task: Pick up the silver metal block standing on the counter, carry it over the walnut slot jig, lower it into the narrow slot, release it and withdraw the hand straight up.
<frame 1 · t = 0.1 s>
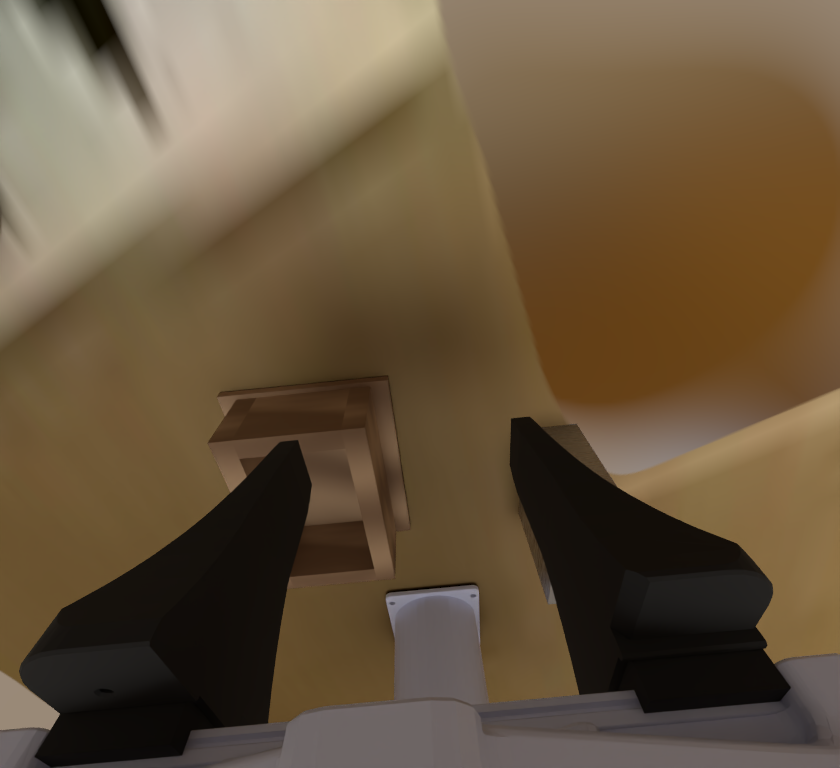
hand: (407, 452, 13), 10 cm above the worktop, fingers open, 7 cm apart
well: (326, 466, 27), on the worktop
silver metal block: (545, 471, 28), on the worktop
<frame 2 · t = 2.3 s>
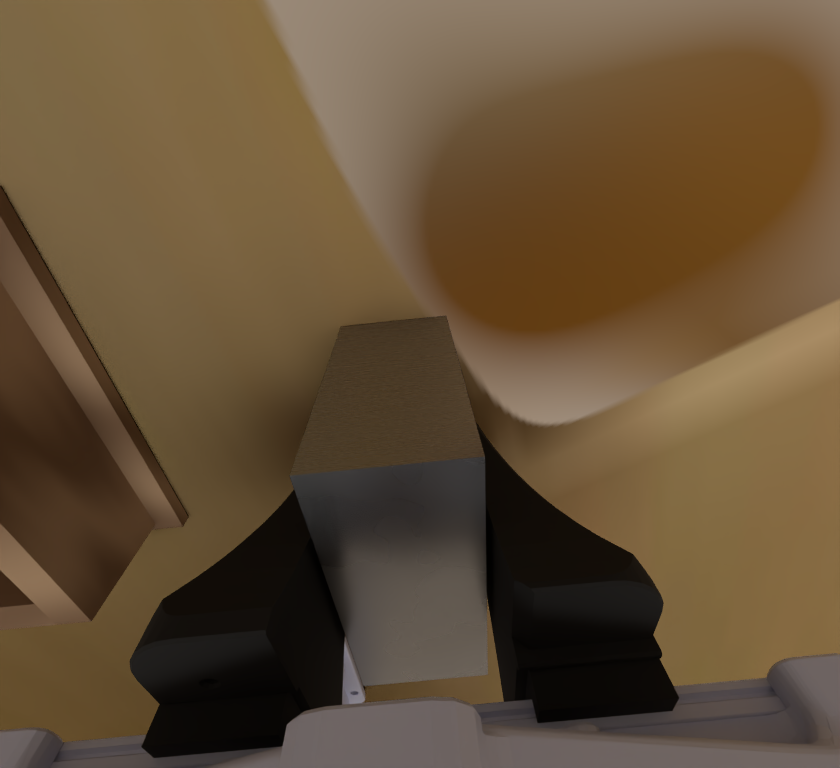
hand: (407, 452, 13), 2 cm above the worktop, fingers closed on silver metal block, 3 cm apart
silver metal block: (406, 419, 15), on the worktop, touching gripper
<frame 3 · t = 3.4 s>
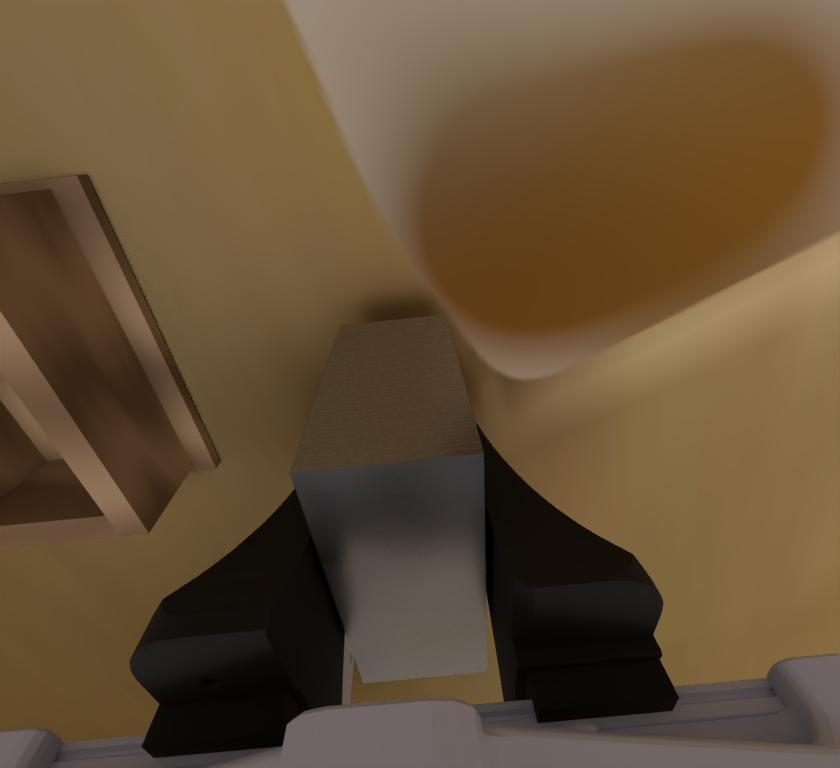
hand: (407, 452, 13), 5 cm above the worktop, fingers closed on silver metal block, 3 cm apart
well: (51, 358, 17), on the worktop
silver metal block: (406, 417, 15), point 3 cm above the worktop, touching gripper
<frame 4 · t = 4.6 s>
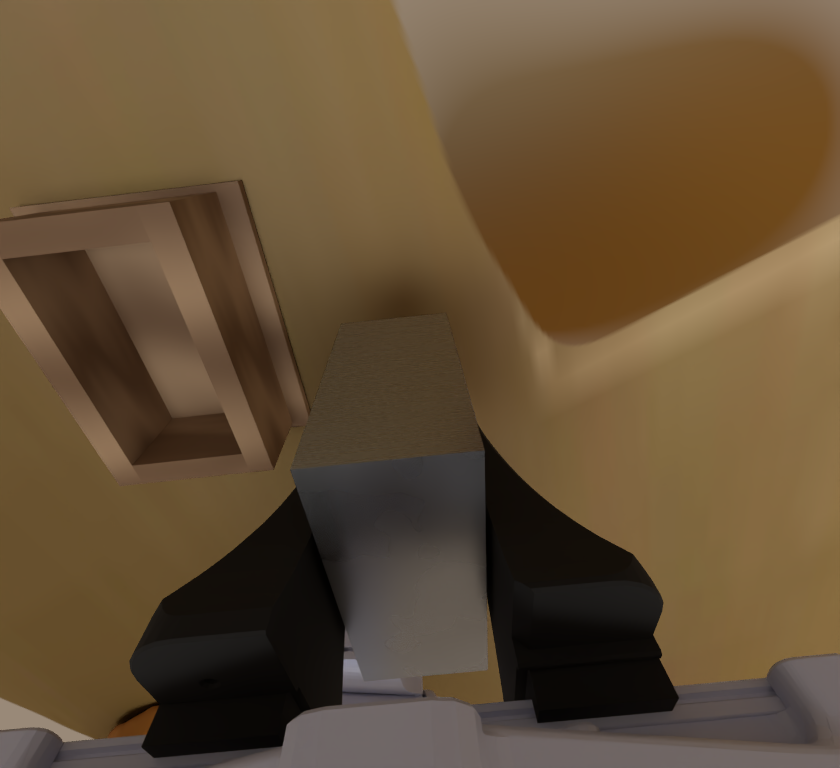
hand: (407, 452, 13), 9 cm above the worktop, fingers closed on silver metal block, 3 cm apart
well: (188, 329, 21), on the worktop
silver metal block: (406, 416, 15), point 7 cm above the worktop, touching gripper
coffee package: (179, 725, 45), on the worktop
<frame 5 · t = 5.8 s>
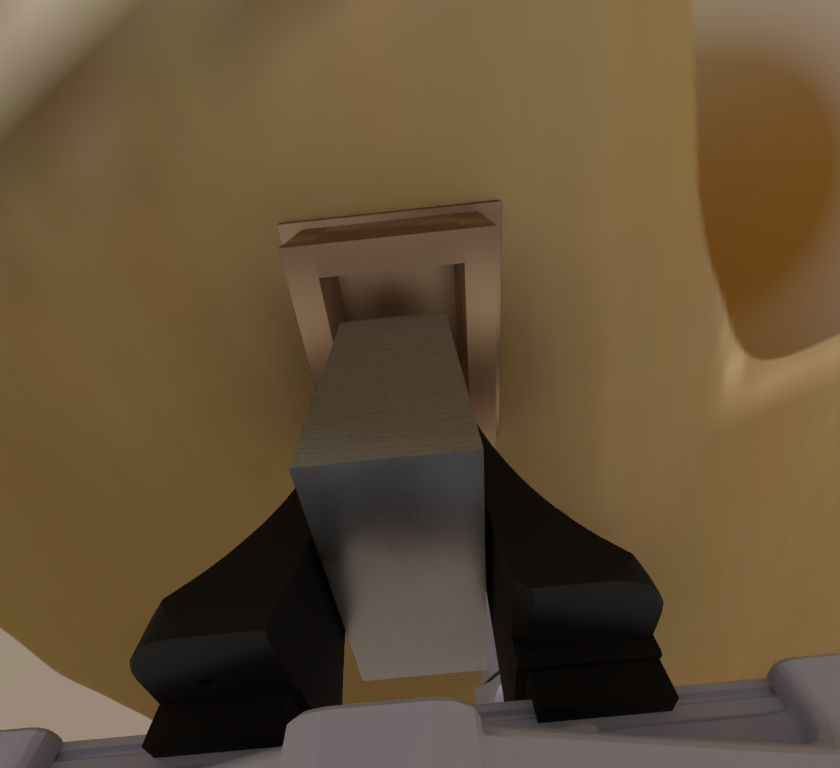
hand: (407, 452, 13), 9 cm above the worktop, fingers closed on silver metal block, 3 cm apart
well: (405, 342, 21), on the worktop
silver metal block: (406, 415, 15), point 7 cm above the worktop, touching gripper
when the fingers open (5 cm above the worktop, at t = 6.9 s): silver metal block drops 3 cm, resting on well.
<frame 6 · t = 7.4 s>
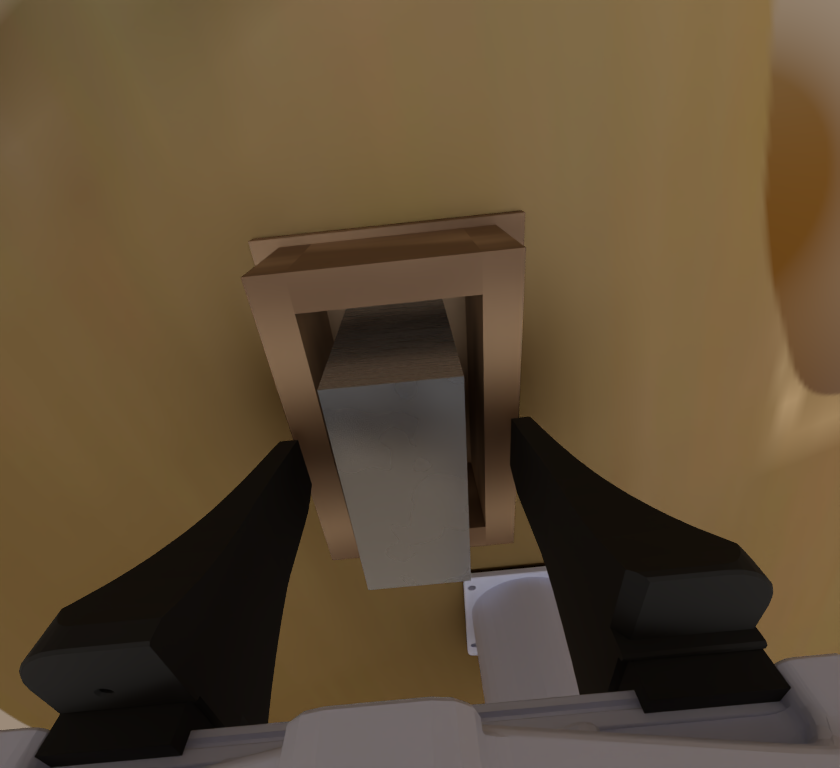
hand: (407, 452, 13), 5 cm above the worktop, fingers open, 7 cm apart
well: (405, 377, 18), on the worktop
silver metal block: (405, 381, 17), resting on well
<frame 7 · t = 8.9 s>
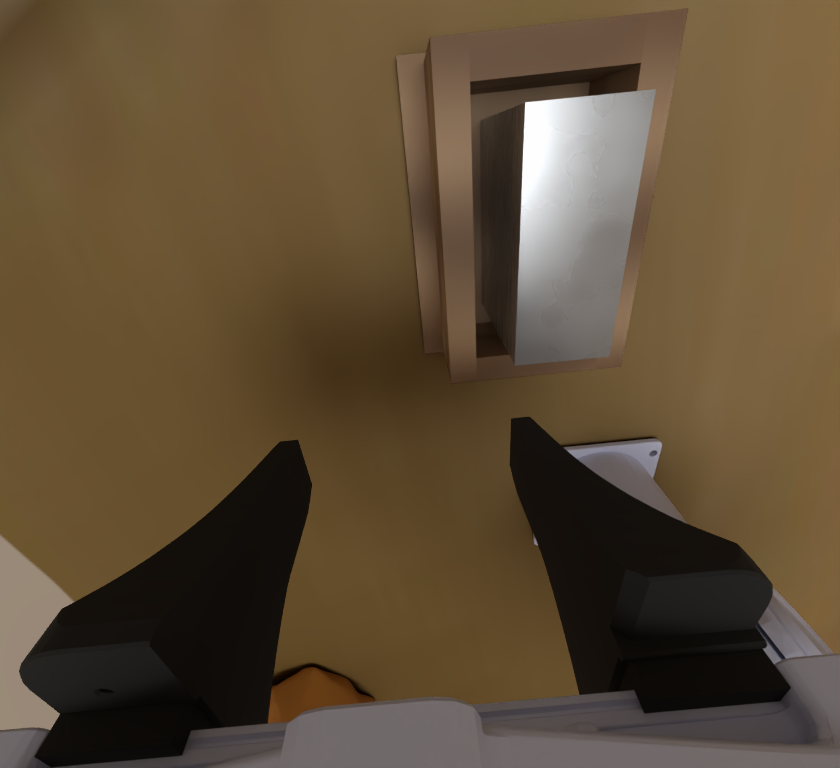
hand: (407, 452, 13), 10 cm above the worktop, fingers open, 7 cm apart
well: (515, 218, 19), on the worktop
silver metal block: (518, 218, 19), resting on well
coffee package: (319, 691, 43), on the worktop
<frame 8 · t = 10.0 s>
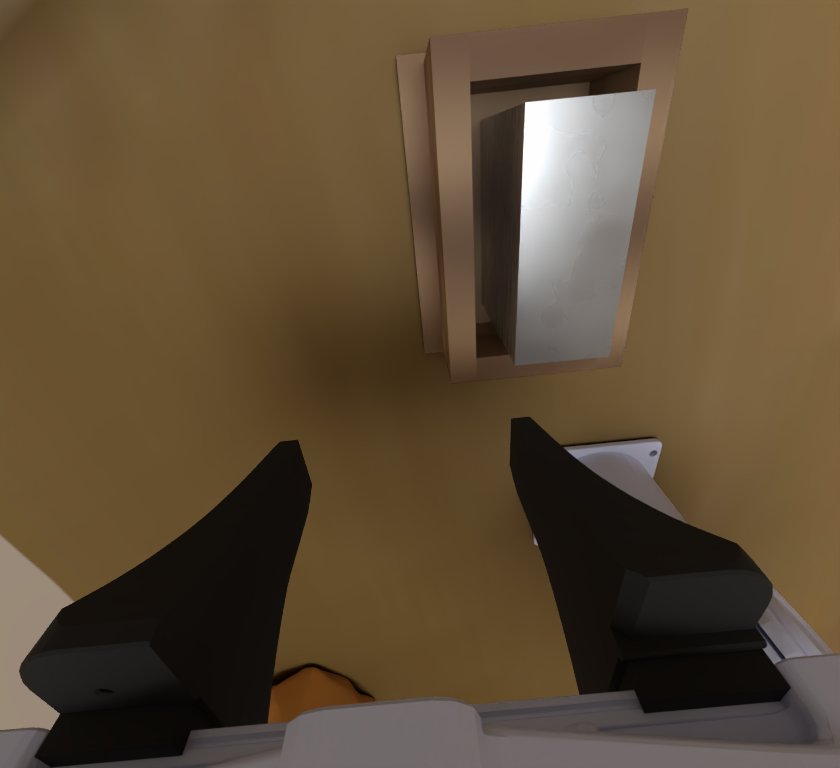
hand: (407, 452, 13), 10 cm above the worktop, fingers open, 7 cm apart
well: (515, 218, 19), on the worktop
silver metal block: (518, 218, 19), resting on well
coffee package: (319, 691, 43), on the worktop
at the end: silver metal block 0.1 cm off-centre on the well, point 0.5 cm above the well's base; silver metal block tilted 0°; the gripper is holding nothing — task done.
